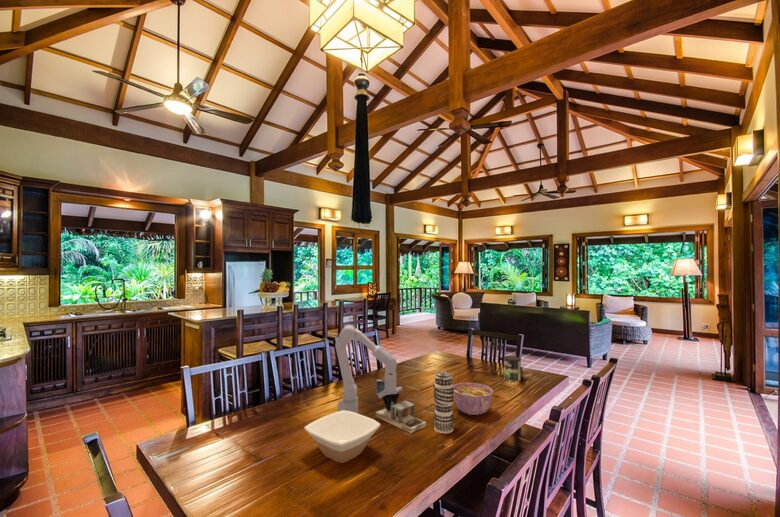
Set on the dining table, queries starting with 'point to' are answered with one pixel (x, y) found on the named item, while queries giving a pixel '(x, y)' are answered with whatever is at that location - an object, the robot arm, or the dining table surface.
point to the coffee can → (512, 368)
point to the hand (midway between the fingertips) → (390, 409)
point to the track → (407, 426)
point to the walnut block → (403, 412)
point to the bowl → (342, 434)
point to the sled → (397, 416)
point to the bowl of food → (472, 398)
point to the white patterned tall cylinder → (443, 402)
